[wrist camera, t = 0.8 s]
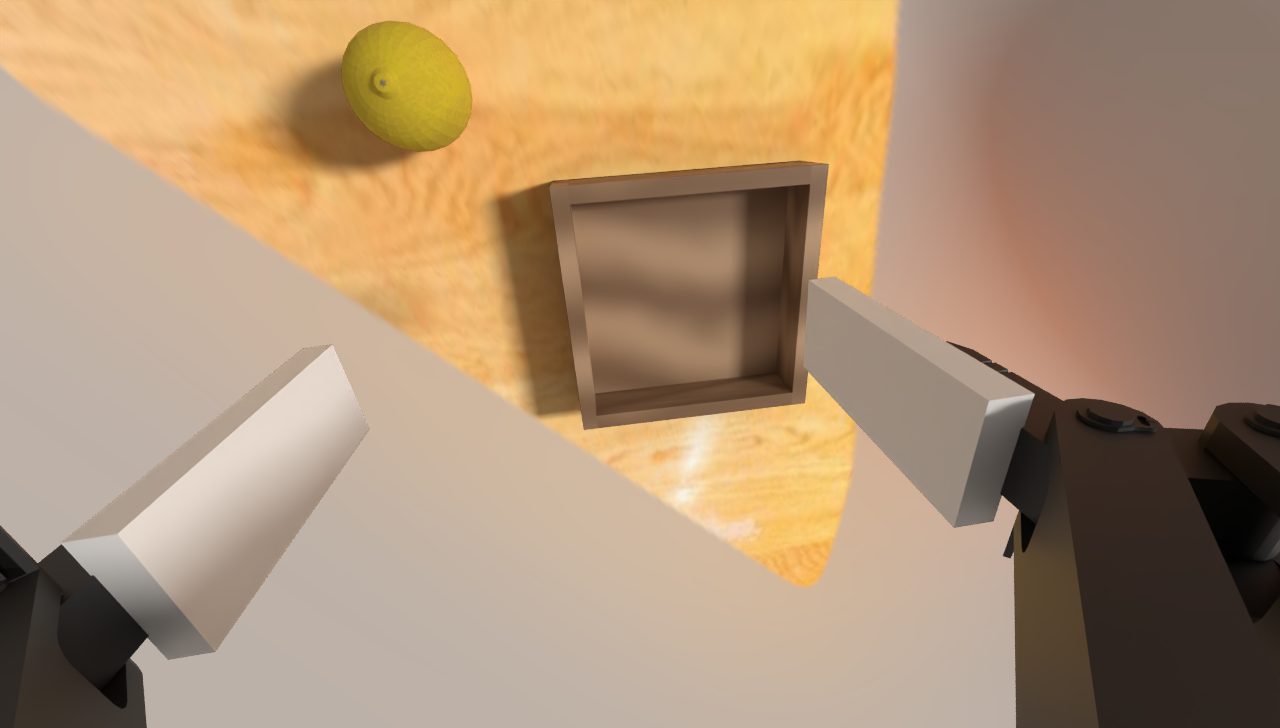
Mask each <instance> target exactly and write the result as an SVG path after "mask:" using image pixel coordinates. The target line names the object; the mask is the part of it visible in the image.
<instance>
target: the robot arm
mask: <svg viewBox="0 0 1280 728" xmlns="http://www.w3.org/2000/svg"><path fill="white" fill-rule="evenodd" d="M803 367H804V368H805V369H806V370H807V371H808V372H809V373H810V374H811V375H812V376H813V377H814V378H815V379H816V380H817V382H818V383H819V384H820V385H821V386H822V387H823V388H824V389H825V390H826V391H827V392H828V393H829V394H830V395H831V397H832V398H833V399H834V400H835V401H836V402H837V403H838V404H839V405H840V406H841V407H842V408H843V409H844V410H845V412H846V413H847V414H848V415H849V416H850V417H851V418H852V419H853V420H854V421H855V422H856V423H857V424H858V425H859V427H860V428H861V429H862V430H863V431H864V432H865V433H866V434H867V435H868V436H869V437H870V438H871V439H872V440H873V442H874V443H875V444H876V445H877V446H878V447H879V448H880V449H881V450H882V451H883V452H884V453H885V454H886V455H887V457H888V458H889V459H890V460H891V461H892V462H893V463H894V464H895V465H896V466H897V467H898V468H899V469H900V470H901V471H902V473H903V474H904V475H905V476H906V477H907V478H908V479H909V480H910V481H911V482H912V483H913V484H914V485H915V486H916V488H917V489H918V490H919V491H920V492H921V493H922V494H923V495H924V496H925V497H926V498H927V499H928V500H929V502H930V503H931V504H932V505H933V506H934V507H935V508H936V509H937V510H938V511H939V512H940V513H941V514H942V515H943V516H944V518H945V519H946V520H947V521H948V522H949V523H950V524H951V525H952V526H953V527H954V528H956V527H962V526H968V525H973V524H979V523H985V522H991V521H994V518H995V515H996V512H997V508H998V505H999V502H1000V499H1001V496H1002V495H1003V496H1004V497H1005V498H1006V499H1007V500H1008V501H1009V502H1011V503H1012V504H1013V505H1014V506H1015V507H1016V508H1017V509H1019V512H1018V515H1017V518H1016V520H1015V523H1014V526H1013V529H1012V532H1011V535H1010V537H1009V540H1008V543H1007V546H1006V549H1005V552H1004V554H1003V556H1005V557H1008V558H1011V556H1012V554H1013V552H1014V596H1015V665H1016V667H1015V670H1016V728H1280V406H1276V405H1271V404H1267V405H1261V404H1254V403H1227V404H1223V405H1219V406H1216V408H1215V410H1214V412H1213V414H1212V416H1211V418H1210V420H1209V421H1208V423H1207V425H1206V427H1205V429H1204V430H1200V429H1199V430H1198V429H1177V428H1163V426H1162V425H1161V424H1160V423H1159V422H1158V421H1156V420H1155V419H1153V418H1151V417H1150V416H1148V415H1146V414H1145V413H1143V412H1140V411H1138V410H1135V409H1132V408H1130V407H1127V406H1124V405H1121V404H1117V403H1112V402H1108V401H1103V400H1096V399H1085V398H1080V399H1068V400H1065V401H1062V400H1061V399H1059V398H1057V397H1055V396H1053V395H1051V394H1050V393H1048V392H1046V391H1045V390H1043V389H1041V388H1039V387H1038V386H1036V385H1034V384H1032V383H1030V382H1029V381H1027V380H1025V379H1024V378H1022V377H1020V376H1018V375H1016V374H1015V373H1013V372H1008V369H1006V368H1004V367H1002V366H1001V365H999V364H997V363H992V361H991V360H990V359H988V358H987V357H985V356H983V355H981V354H979V353H978V352H976V351H974V350H972V349H969V348H966V347H963V346H960V345H957V344H954V343H951V342H948V341H944V340H942V339H940V338H939V337H937V336H935V335H934V334H932V333H930V332H929V331H927V330H925V329H923V328H922V327H920V326H918V325H917V324H915V323H913V322H911V321H910V320H908V319H906V318H905V317H903V316H901V315H900V314H898V313H896V312H894V311H893V310H891V309H889V308H887V307H886V306H884V305H883V304H881V303H879V302H877V301H876V300H874V299H872V298H871V297H869V296H867V295H866V294H864V293H862V292H860V291H859V290H857V289H855V288H854V287H852V286H850V285H848V284H847V283H845V282H843V281H842V280H840V279H838V278H837V277H828V278H821V279H814V280H809V285H808V301H807V317H806V332H805V348H804V364H803ZM368 431H369V427H368V425H367V423H366V420H365V418H364V416H363V413H362V411H361V409H360V407H359V404H358V402H357V400H356V397H355V395H354V393H353V390H352V388H351V386H350V384H349V381H348V379H347V377H346V375H345V372H344V370H343V368H342V365H341V363H340V361H339V358H338V356H337V354H336V352H335V349H334V347H333V345H325V346H318V347H310V348H303V349H302V350H300V351H299V352H298V353H297V354H295V355H294V356H293V357H292V358H290V359H289V360H288V361H287V362H285V363H284V364H283V365H282V366H281V367H279V368H278V369H277V370H275V371H274V372H273V373H272V374H270V375H269V376H268V377H267V378H265V379H264V380H263V381H262V382H260V383H259V384H258V385H257V386H255V387H254V388H253V389H252V390H250V391H249V392H248V393H247V394H245V395H244V396H243V397H242V398H241V399H239V400H238V401H237V402H236V403H234V404H233V405H232V406H231V407H229V408H228V409H227V410H226V411H224V412H223V413H222V414H221V415H219V416H218V417H217V418H216V419H214V420H213V421H212V422H211V423H209V424H208V425H207V426H206V427H204V428H203V429H202V430H201V431H199V432H198V433H197V434H196V435H194V436H193V437H192V438H191V439H190V440H188V441H187V442H186V443H184V444H183V445H182V446H181V447H180V448H178V449H177V450H176V451H175V452H173V453H172V454H171V455H169V456H168V457H167V458H166V459H165V460H163V461H162V462H161V463H159V464H158V465H157V466H156V467H154V468H153V469H152V470H151V471H150V472H148V473H147V474H146V475H145V476H143V477H142V478H141V479H140V480H138V481H137V482H136V483H135V484H133V485H132V486H131V487H130V488H128V489H127V490H126V491H125V492H123V493H122V494H121V495H120V496H118V497H117V498H116V499H115V500H113V501H112V502H111V503H110V504H108V505H107V506H106V507H105V508H103V509H102V510H101V511H100V512H98V513H97V514H96V515H95V516H93V517H92V518H91V519H90V520H88V521H87V522H86V523H85V524H83V525H82V526H81V527H80V528H78V529H77V530H76V531H75V532H74V533H72V534H71V535H70V536H68V537H67V538H66V539H65V540H63V541H62V542H61V545H60V546H59V547H58V548H57V549H55V550H54V551H53V552H52V553H50V554H49V555H48V556H47V557H45V558H44V559H43V560H42V561H41V562H39V563H36V561H35V560H34V559H33V558H32V557H31V556H30V555H29V554H28V553H27V552H26V551H25V550H24V549H23V548H22V547H21V546H20V545H19V544H18V543H17V542H16V541H15V540H14V539H13V538H12V537H11V536H10V535H9V534H8V533H7V532H6V531H5V530H4V529H3V528H2V527H1V526H0V728H147V726H146V715H145V701H144V688H143V675H142V672H141V670H140V669H139V667H138V666H137V665H136V664H135V663H134V662H133V661H132V660H131V659H130V657H131V656H132V655H133V654H134V652H135V651H136V650H137V649H138V648H139V646H140V645H141V644H142V643H143V642H144V641H145V639H146V638H148V639H149V640H150V641H151V642H152V643H153V644H154V645H155V646H156V647H157V648H158V649H159V650H160V652H161V653H162V654H163V655H164V656H165V657H166V658H167V659H168V660H170V659H176V658H181V657H187V656H194V655H199V654H205V653H211V652H215V651H216V650H217V649H218V647H219V646H220V644H221V643H222V641H223V640H224V638H225V637H226V636H227V634H228V633H229V631H230V630H231V628H232V627H233V625H234V624H235V623H236V621H237V620H238V618H239V617H240V615H241V614H242V613H243V611H244V610H245V608H246V607H247V605H248V604H249V602H250V601H251V600H252V598H253V597H254V595H255V594H256V592H257V591H258V589H259V588H260V586H261V585H262V584H263V582H264V581H265V579H266V578H267V577H268V575H269V574H270V572H271V571H272V569H273V568H274V566H275V565H276V563H277V562H278V561H279V559H280V558H281V556H282V555H283V553H284V552H285V551H286V549H287V547H288V546H289V545H290V543H291V542H292V540H293V539H294V538H295V536H296V535H297V533H298V532H299V530H300V529H301V527H302V526H303V524H304V523H305V522H306V520H307V519H308V517H309V516H310V514H311V513H312V512H313V510H314V509H315V507H316V506H317V504H318V503H319V502H320V500H321V498H322V497H323V496H324V494H325V493H326V491H327V490H328V489H329V487H330V486H331V484H332V483H333V481H334V480H335V478H336V477H337V476H338V474H339V473H340V471H341V470H342V468H343V467H344V465H345V464H346V463H347V461H348V460H349V458H350V457H351V455H352V454H353V453H354V451H355V450H356V448H357V447H358V445H359V444H360V442H361V441H362V440H363V438H364V436H365V435H366V434H367V432H368Z"/></svg>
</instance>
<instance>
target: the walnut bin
mask: <svg viewBox="0 0 1280 728" xmlns="http://www.w3.org/2000/svg"><path fill="white" fill-rule="evenodd" d="M828 166H829V164H823V163H814V162H806V161H791V162H779V163H767V164H755V165H742V166H730V167H718V168H706V169H693V170H681V171H669V172H657V173H644V174H632V175H620V176H608V177H595V178H583V179H571V180H559V181H552V183H551V185H550V187H549V189H550V196H551V203H552V210H553V217H554V224H555V231H556V238H557V245H558V253H559V260H560V267H561V274H562V281H563V288H564V295H565V302H566V309H567V316H568V323H569V330H570V337H571V344H572V351H573V358H574V365H575V372H576V379H577V386H578V393H579V400H580V407H581V414H582V421H583V428H584V430H587V429H595V428H603V427H611V426H620V425H628V424H636V423H644V422H653V421H661V420H669V419H677V418H686V417H694V416H702V415H711V414H719V413H727V412H735V411H744V410H752V409H760V408H768V407H777V406H785V405H793V404H801V403H805V397H806V387H807V377H808V371H807V370H806V369H805V368H804V367H803V364H804V348H805V332H806V317H807V301H808V285H809V280H814V279H817V276H818V266H819V256H820V246H821V236H822V226H823V216H824V206H825V196H826V186H827V176H828Z"/></svg>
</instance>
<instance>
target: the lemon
mask: <svg viewBox="0 0 1280 728" xmlns="http://www.w3.org/2000/svg"><path fill="white" fill-rule="evenodd" d="M341 73H342V82H343V88H344V91H345V93H346V96H347V99H348V102H349V104H350V105H351V107H352V109H353V110H354V112H355V114H356V115H357V117H358V118H359V119H360V120H361V121H362V122H363V123H364V124H365V126H366V127H367V128H368V129H369V130H370V131H372V132H373V133H374V134H376V135H377V136H379V137H380V138H381V139H383V140H384V141H386V142H388V143H390V144H392V145H395V146H397V147H399V148H402V149H406V150H411V151H417V152H423V151H434V150H437V149H440V148H443V147H446V146H448V145H449V144H451V143H452V142H453V141H455V140H456V139H457V138H459V136H460V135H461V133H462V132H463V131H464V129H465V128H466V126H467V123H468V121H469V118H470V115H471V109H472V94H471V87H470V83H469V80H468V77H467V74H466V72H465V69H464V68H463V66H462V64H461V63H460V61H459V59H458V58H457V56H456V55H455V53H454V52H453V51H452V50H451V49H450V48H449V47H448V46H447V45H446V44H445V43H444V42H443V41H442V40H441V39H439V38H438V37H436V36H435V35H433V34H432V33H431V32H429V31H428V30H426V29H424V28H421V27H418V26H416V25H413V24H410V23H407V22H397V21H385V22H380V23H376V24H372V25H370V26H368V27H366V28H364V29H363V30H361V31H359V32H358V33H357V34H356V35H355V36H354V37H353V39H352V40H351V41H350V42H349V44H348V46H347V48H346V51H345V53H344V55H343V61H342V69H341Z"/></svg>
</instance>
